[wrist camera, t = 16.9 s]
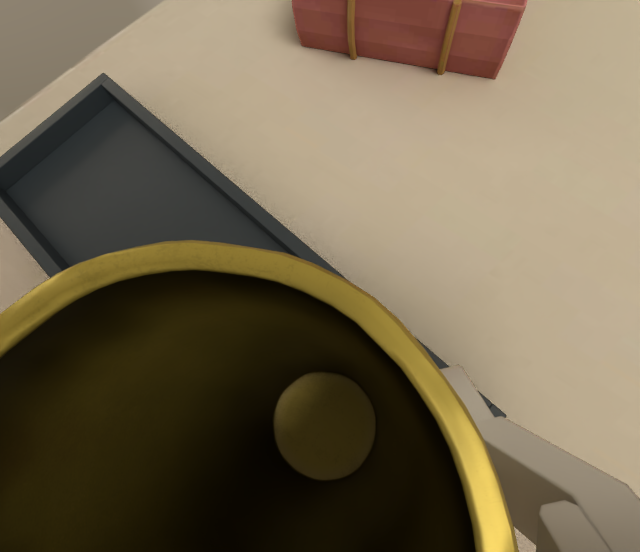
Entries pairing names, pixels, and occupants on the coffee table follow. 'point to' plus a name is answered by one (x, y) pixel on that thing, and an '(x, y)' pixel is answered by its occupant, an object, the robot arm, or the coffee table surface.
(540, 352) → the coffee table surface
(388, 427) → the vase
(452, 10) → the book
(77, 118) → the tray
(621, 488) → the robot arm
